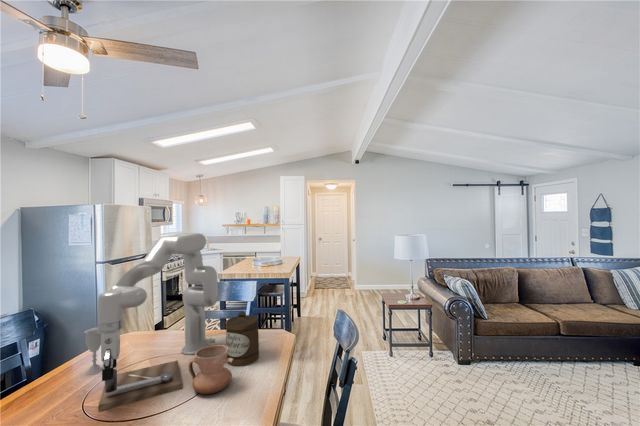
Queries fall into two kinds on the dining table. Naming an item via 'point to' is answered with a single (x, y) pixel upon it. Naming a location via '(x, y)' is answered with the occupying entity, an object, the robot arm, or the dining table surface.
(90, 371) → the chalice
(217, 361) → the ceramic jug
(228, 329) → the wooden container
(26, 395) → the dining table surface
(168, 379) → the lever
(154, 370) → the lever board
